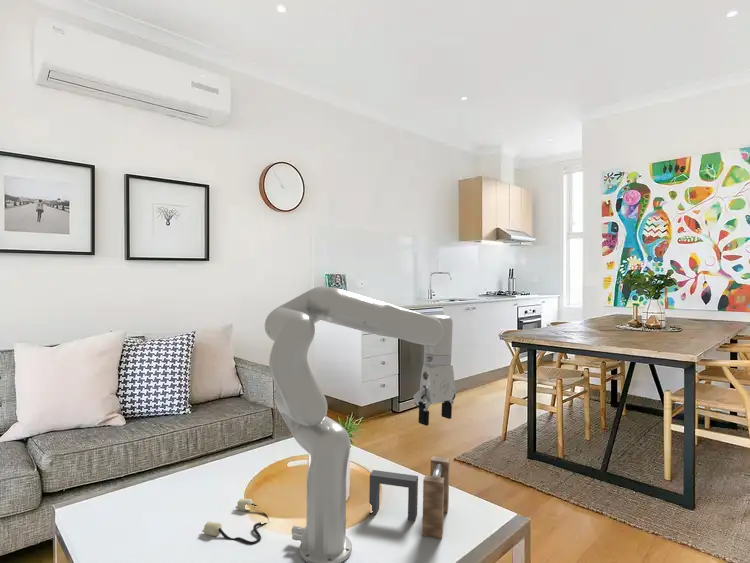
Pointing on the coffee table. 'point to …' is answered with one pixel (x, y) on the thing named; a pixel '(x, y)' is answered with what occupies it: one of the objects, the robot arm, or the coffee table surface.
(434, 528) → the hook stand
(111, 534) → the coffee table surface
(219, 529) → the cable
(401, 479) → the grey channel bracket
